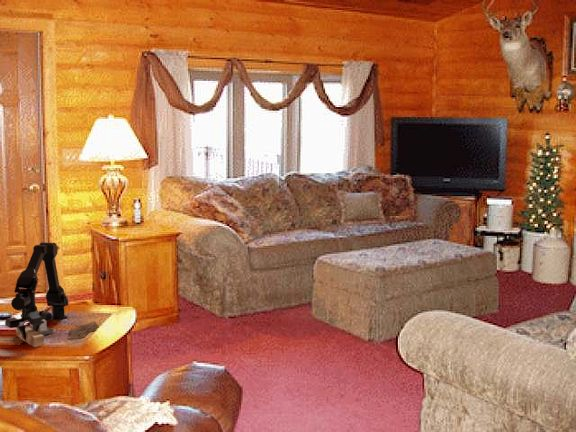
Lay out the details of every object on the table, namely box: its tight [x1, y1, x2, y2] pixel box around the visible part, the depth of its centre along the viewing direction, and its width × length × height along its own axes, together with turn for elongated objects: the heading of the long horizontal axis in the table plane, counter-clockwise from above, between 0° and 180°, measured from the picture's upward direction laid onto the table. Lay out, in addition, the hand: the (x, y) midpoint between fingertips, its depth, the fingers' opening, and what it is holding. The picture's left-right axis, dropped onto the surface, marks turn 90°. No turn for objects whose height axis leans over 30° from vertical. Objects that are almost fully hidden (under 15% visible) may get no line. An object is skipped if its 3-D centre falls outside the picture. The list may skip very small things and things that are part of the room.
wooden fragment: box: [67, 321, 100, 340], centre depth 324 cm, size 26×11×1 cm, turn 167°
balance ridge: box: [27, 319, 54, 336], centre depth 321 cm, size 12×8×6 cm, turn 43°
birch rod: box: [15, 324, 45, 348], centre depth 309 cm, size 18×4×4 cm, turn 44°
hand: (29, 338), depth 309 cm, fingers closed on birch rod, 4 cm apart
